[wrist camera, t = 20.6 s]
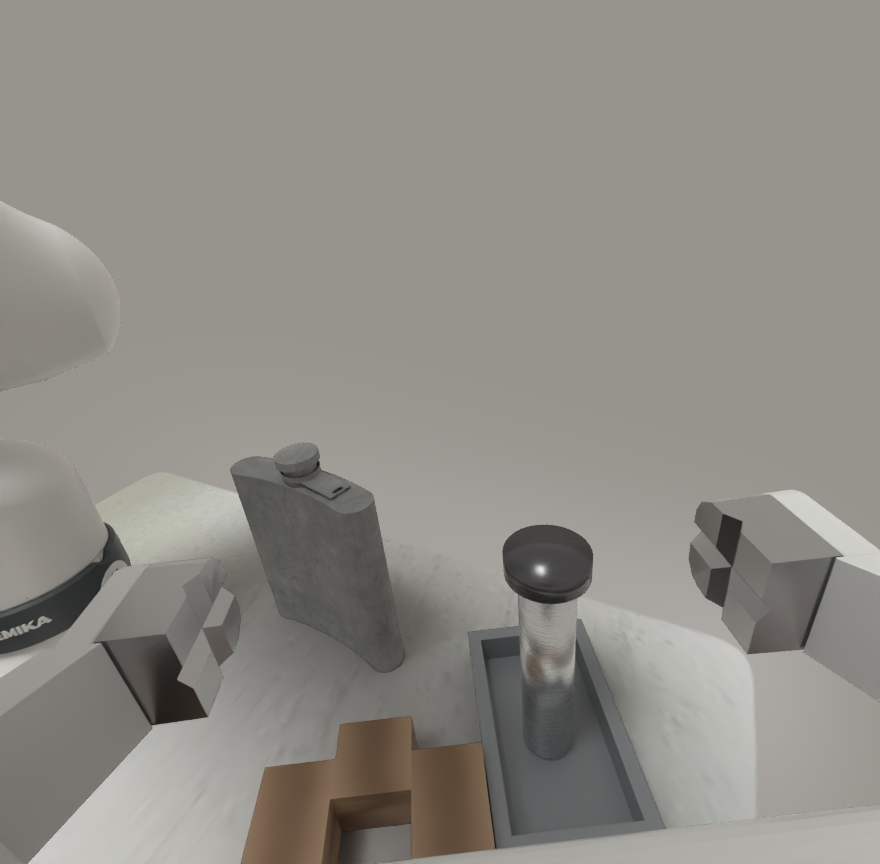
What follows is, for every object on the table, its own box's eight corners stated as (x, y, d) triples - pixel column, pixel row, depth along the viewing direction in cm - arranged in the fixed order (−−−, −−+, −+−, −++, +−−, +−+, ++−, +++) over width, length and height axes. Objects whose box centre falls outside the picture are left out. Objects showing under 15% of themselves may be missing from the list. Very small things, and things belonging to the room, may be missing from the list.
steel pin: (520, 776, 33) (512, 589, 26) (506, 706, 38) (495, 530, 31) (594, 767, 34) (607, 577, 26) (570, 698, 38) (576, 520, 31)
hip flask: (272, 610, 50) (214, 445, 41) (302, 585, 53) (252, 425, 44) (389, 678, 42) (347, 488, 33) (416, 644, 45) (384, 461, 36)
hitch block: (216, 1089, 23) (189, 1065, 21) (287, 763, 36) (274, 731, 35) (519, 1053, 23) (517, 1025, 21) (480, 741, 36) (477, 708, 35)
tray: (499, 882, 29) (497, 858, 28) (470, 655, 43) (468, 631, 42) (663, 863, 29) (669, 838, 28) (579, 642, 43) (581, 618, 42)
